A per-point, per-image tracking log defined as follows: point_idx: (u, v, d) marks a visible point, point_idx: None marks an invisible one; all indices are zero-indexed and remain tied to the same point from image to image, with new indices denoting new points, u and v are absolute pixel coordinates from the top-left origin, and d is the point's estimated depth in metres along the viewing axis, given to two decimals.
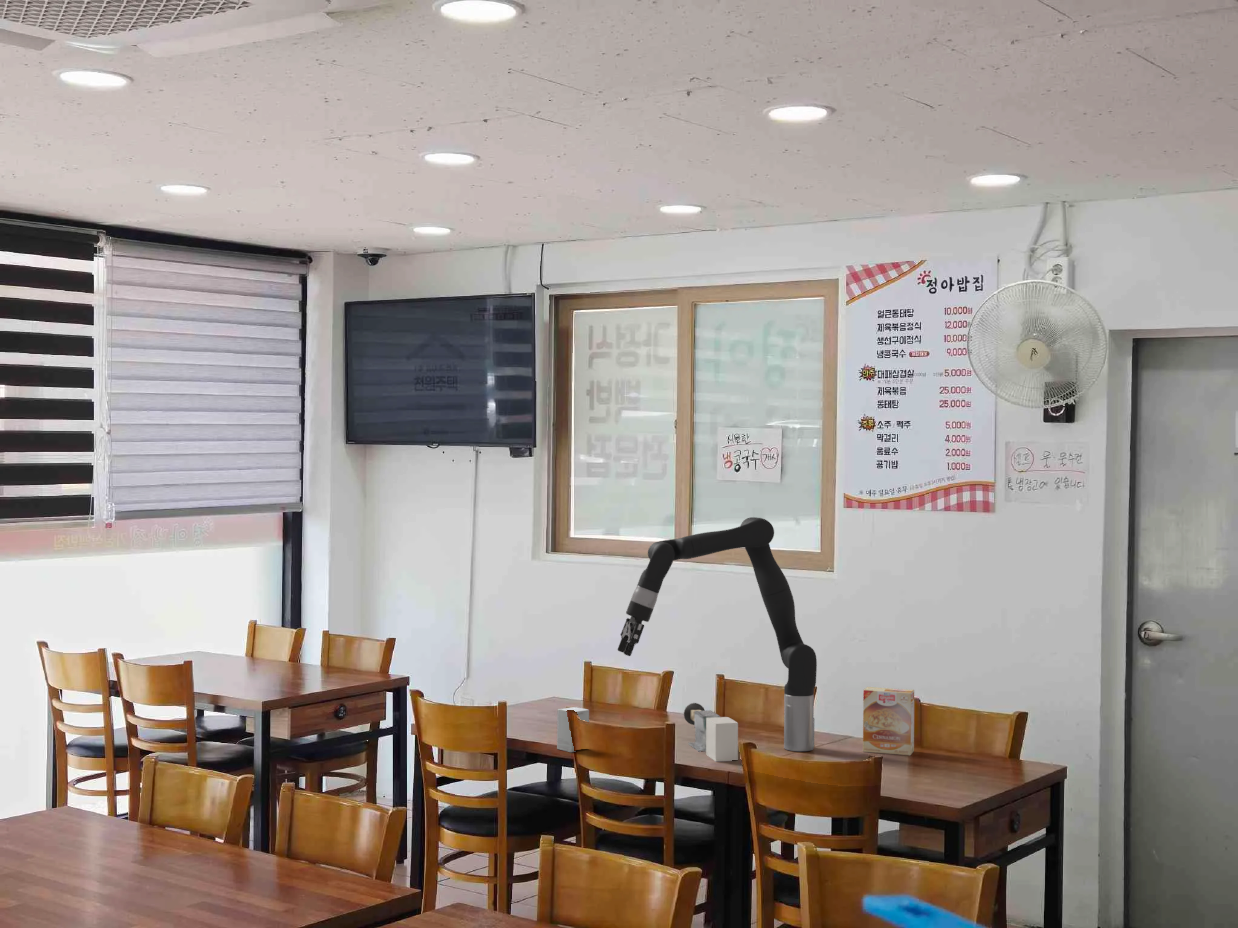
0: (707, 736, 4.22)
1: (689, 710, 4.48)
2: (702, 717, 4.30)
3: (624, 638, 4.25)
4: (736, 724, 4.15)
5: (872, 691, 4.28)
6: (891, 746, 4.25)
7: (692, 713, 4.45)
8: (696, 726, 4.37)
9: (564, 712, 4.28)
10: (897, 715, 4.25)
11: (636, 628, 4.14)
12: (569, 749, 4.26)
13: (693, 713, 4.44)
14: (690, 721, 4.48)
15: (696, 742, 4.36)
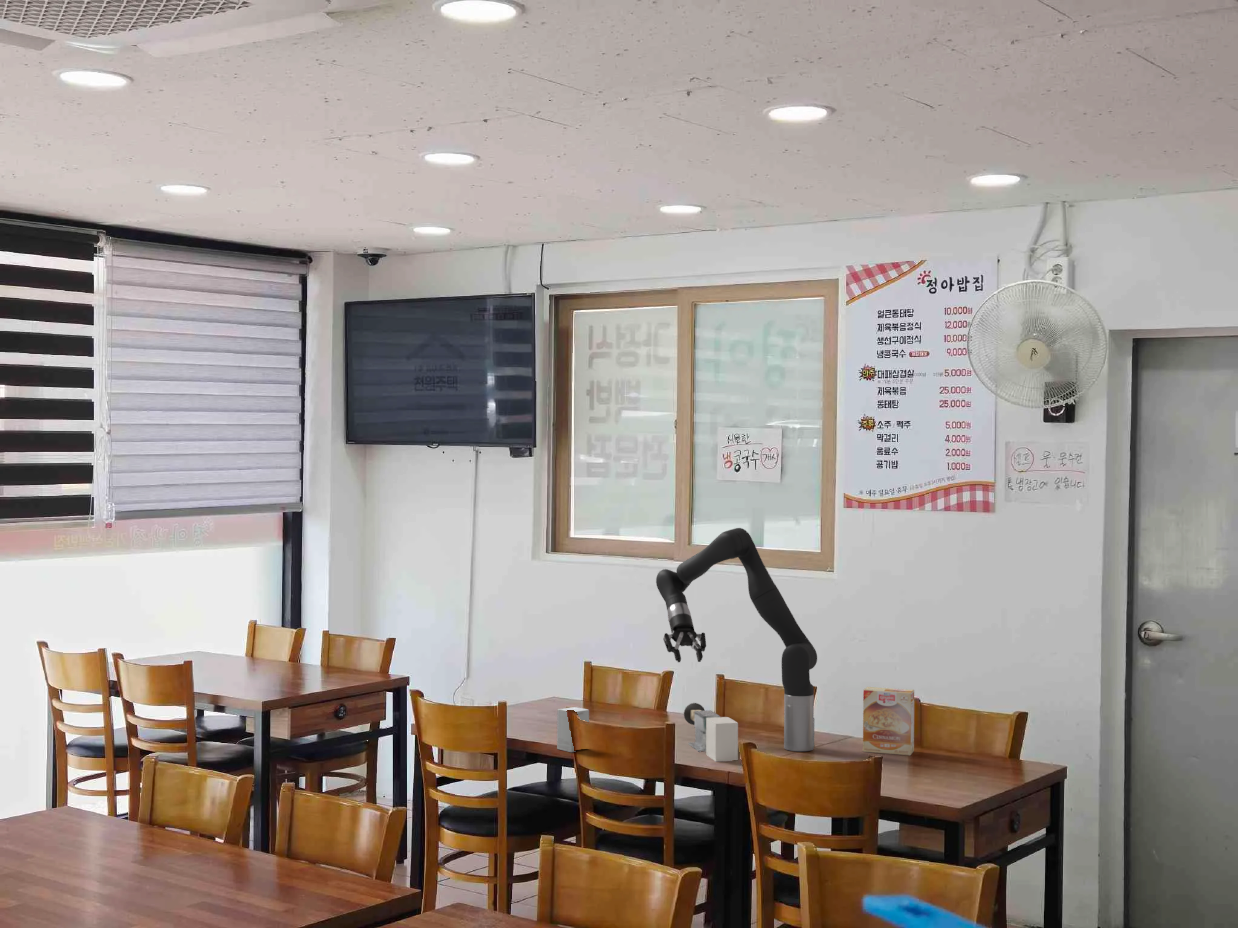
0: (707, 736, 4.22)
1: (689, 710, 4.48)
2: (702, 717, 4.30)
3: (696, 650, 4.46)
4: (736, 724, 4.15)
5: (872, 691, 4.28)
6: (891, 746, 4.25)
7: (692, 713, 4.45)
8: (696, 726, 4.37)
9: (564, 712, 4.28)
10: (897, 715, 4.25)
11: (664, 641, 4.47)
12: (569, 749, 4.26)
13: (693, 713, 4.44)
14: (690, 721, 4.48)
15: (696, 742, 4.36)
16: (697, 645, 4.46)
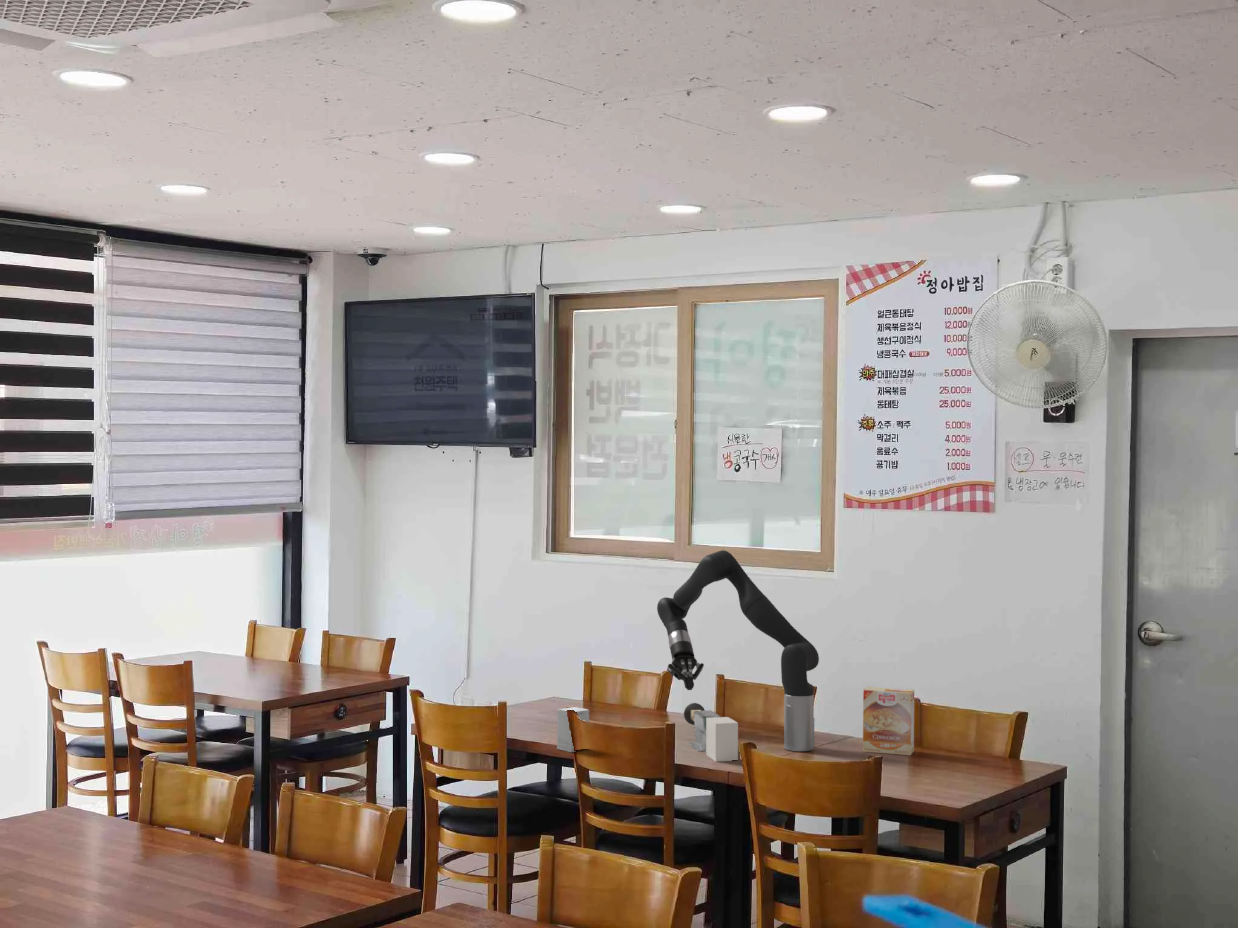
0: (707, 736, 4.22)
1: (689, 710, 4.48)
2: (702, 717, 4.30)
3: None
4: (736, 724, 4.15)
5: (872, 691, 4.28)
6: (891, 746, 4.25)
7: (692, 713, 4.45)
8: (696, 726, 4.37)
9: (564, 712, 4.28)
10: (897, 715, 4.25)
11: (670, 671, 4.58)
12: (569, 749, 4.26)
13: (693, 713, 4.44)
14: (690, 721, 4.48)
15: (696, 742, 4.36)
16: (690, 673, 4.56)
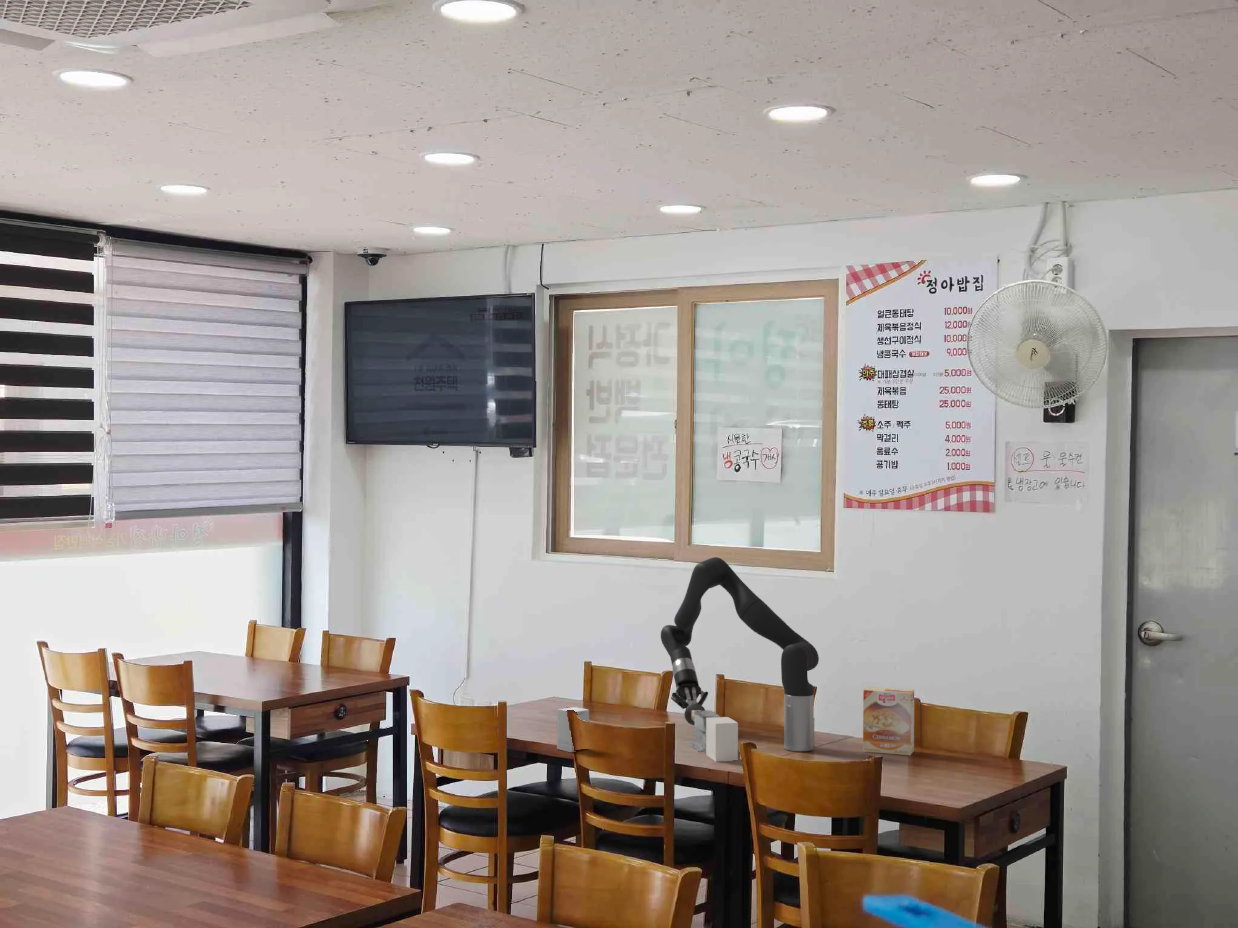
0: (707, 736, 4.22)
1: (690, 710, 4.47)
2: (702, 717, 4.30)
3: None
4: (736, 724, 4.15)
5: (872, 691, 4.28)
6: (891, 746, 4.25)
7: (693, 714, 4.44)
8: (696, 726, 4.37)
9: (564, 712, 4.28)
10: (897, 715, 4.25)
11: (674, 700, 4.54)
12: (569, 749, 4.26)
13: (694, 713, 4.44)
14: (691, 721, 4.47)
15: (696, 742, 4.36)
16: (694, 702, 4.52)
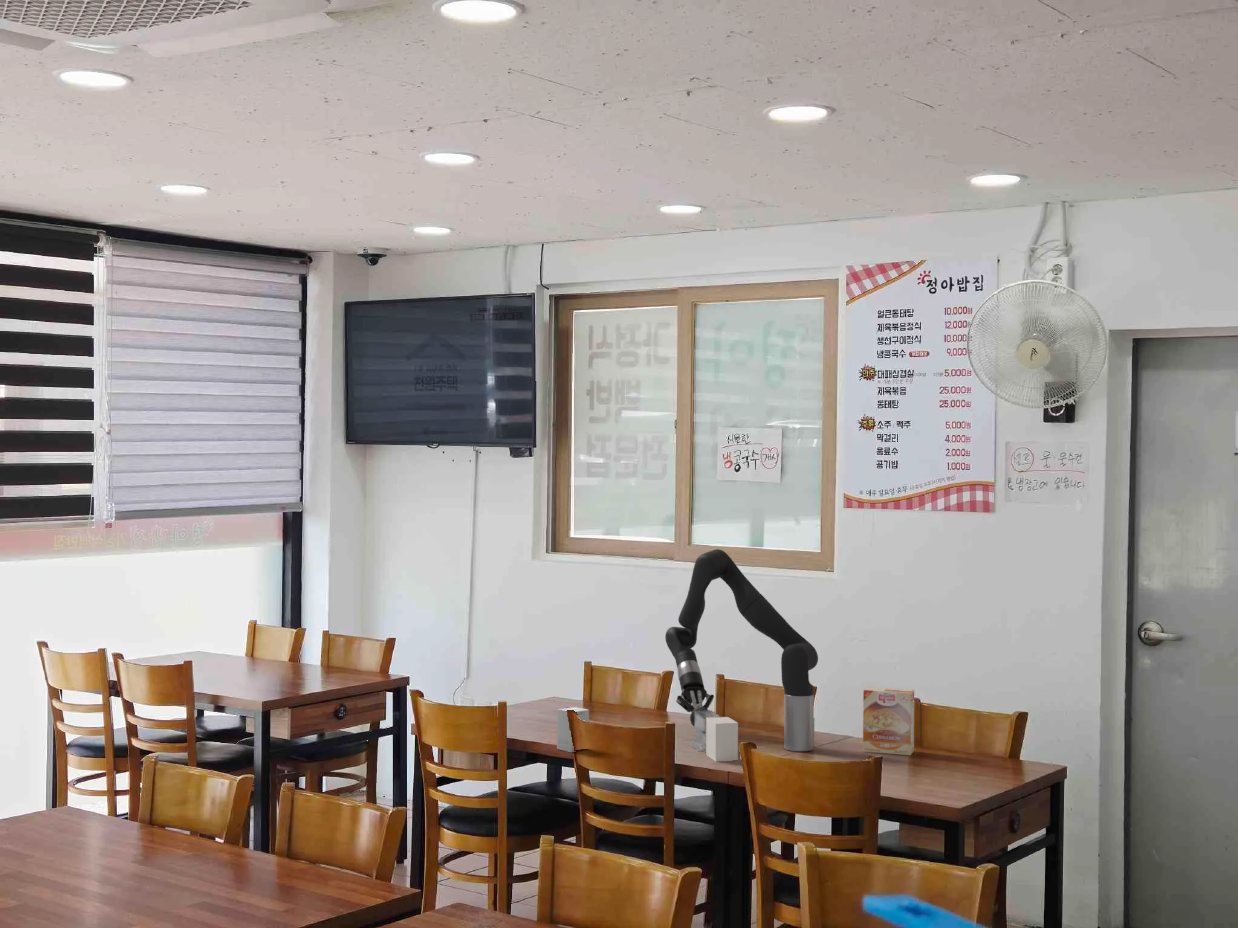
0: (707, 736, 4.22)
1: None
2: (702, 717, 4.30)
3: None
4: (736, 724, 4.15)
5: (872, 691, 4.28)
6: (891, 746, 4.25)
7: None
8: (696, 726, 4.37)
9: (564, 712, 4.28)
10: (897, 715, 4.25)
11: (679, 703, 4.47)
12: (569, 749, 4.26)
13: None
14: None
15: (696, 742, 4.36)
16: (700, 705, 4.45)
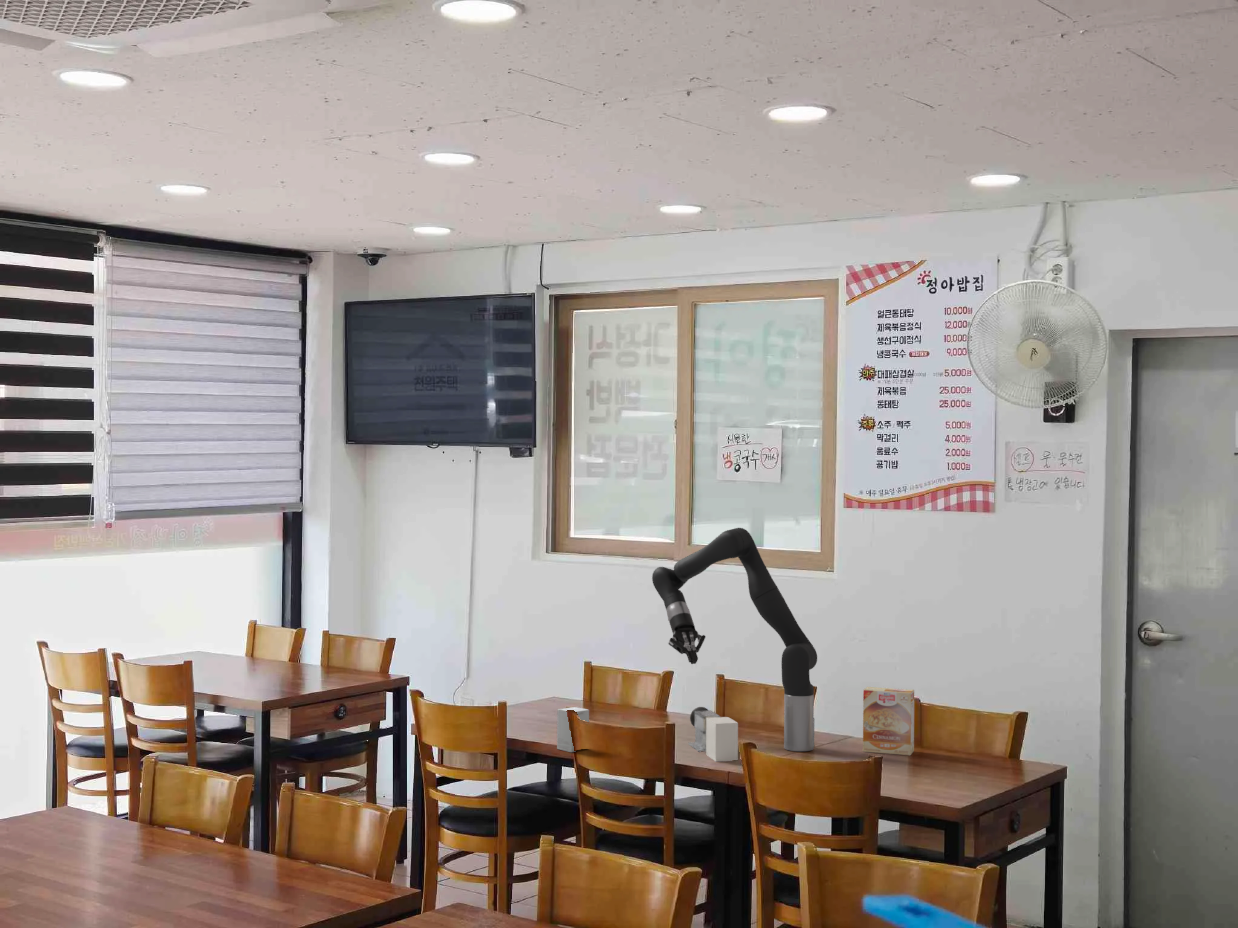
0: (707, 736, 4.22)
1: None
2: (702, 717, 4.30)
3: None
4: (736, 724, 4.15)
5: (872, 691, 4.28)
6: (891, 746, 4.25)
7: None
8: (696, 726, 4.37)
9: (564, 712, 4.28)
10: (897, 715, 4.25)
11: (672, 645, 4.46)
12: (569, 749, 4.26)
13: None
14: None
15: (696, 742, 4.36)
16: (693, 646, 4.45)
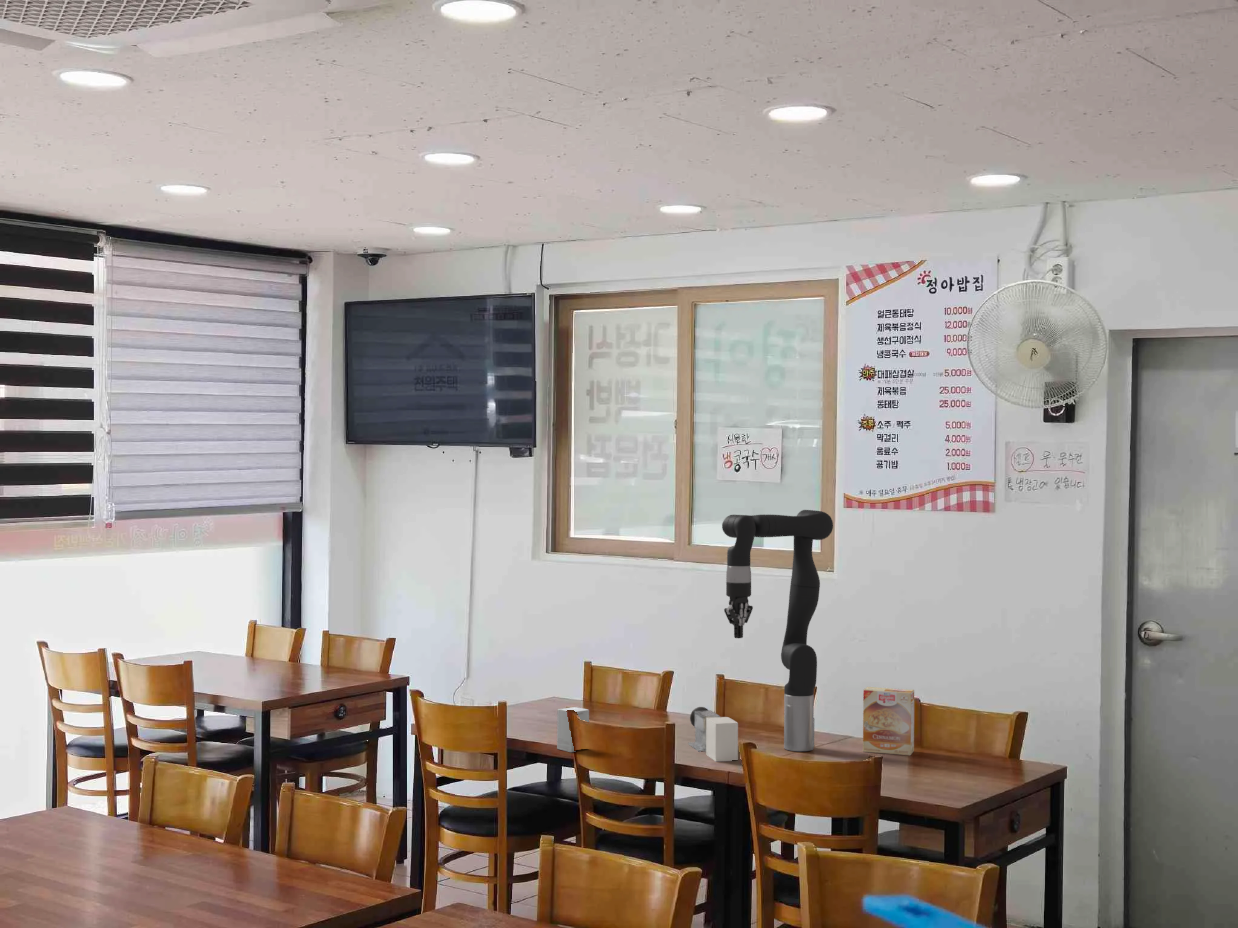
0: (707, 736, 4.22)
1: None
2: (702, 717, 4.30)
3: None
4: (736, 724, 4.15)
5: (872, 691, 4.28)
6: (891, 746, 4.25)
7: None
8: (696, 726, 4.37)
9: (564, 712, 4.28)
10: (897, 715, 4.25)
11: (727, 614, 4.12)
12: (569, 749, 4.26)
13: None
14: None
15: (696, 742, 4.36)
16: (743, 620, 4.16)
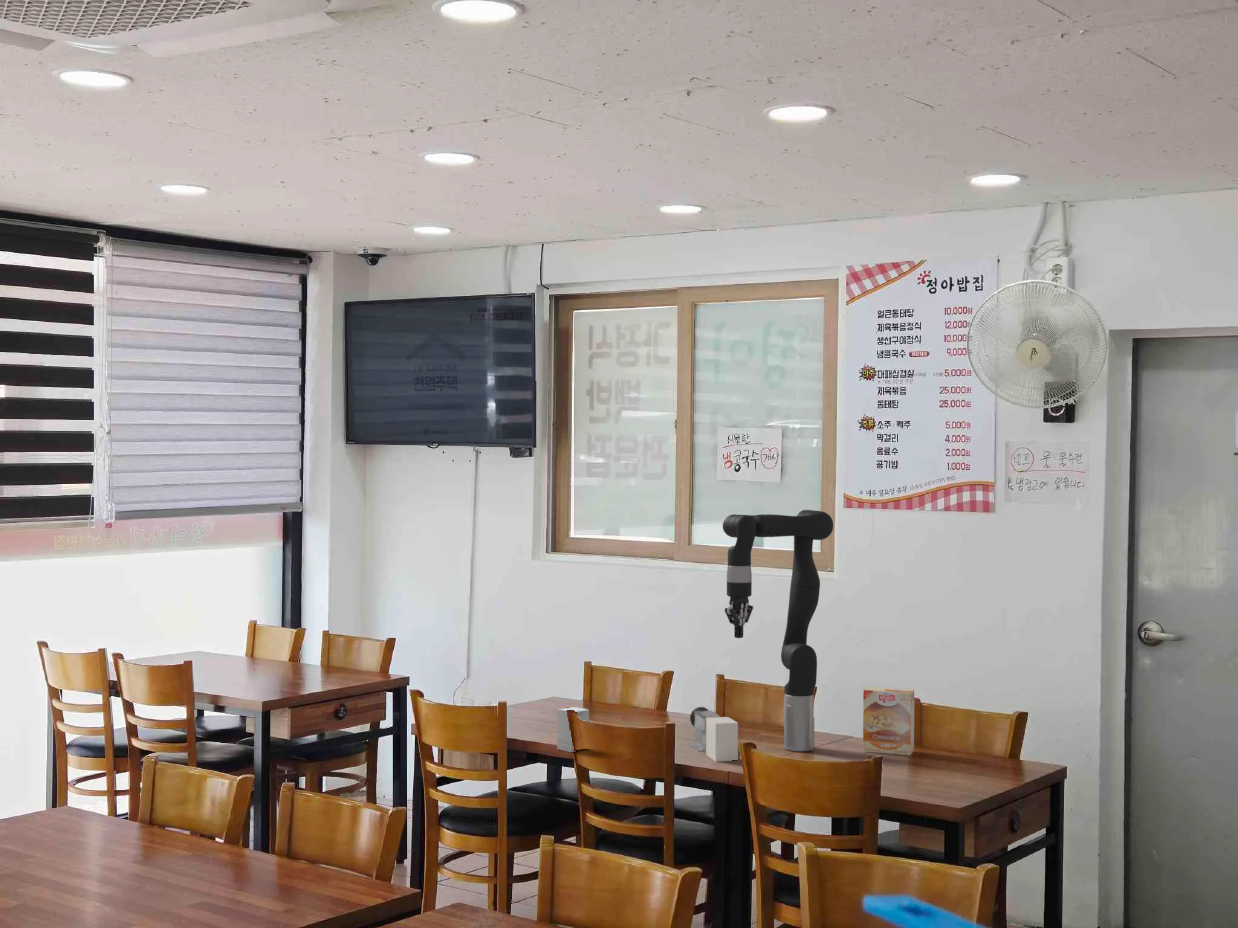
0: (707, 736, 4.22)
1: None
2: (702, 717, 4.30)
3: None
4: (736, 724, 4.15)
5: (872, 691, 4.28)
6: (891, 746, 4.25)
7: None
8: (696, 726, 4.37)
9: (564, 712, 4.28)
10: (897, 715, 4.25)
11: (727, 614, 4.12)
12: (569, 749, 4.26)
13: None
14: None
15: (696, 742, 4.36)
16: (743, 620, 4.16)
